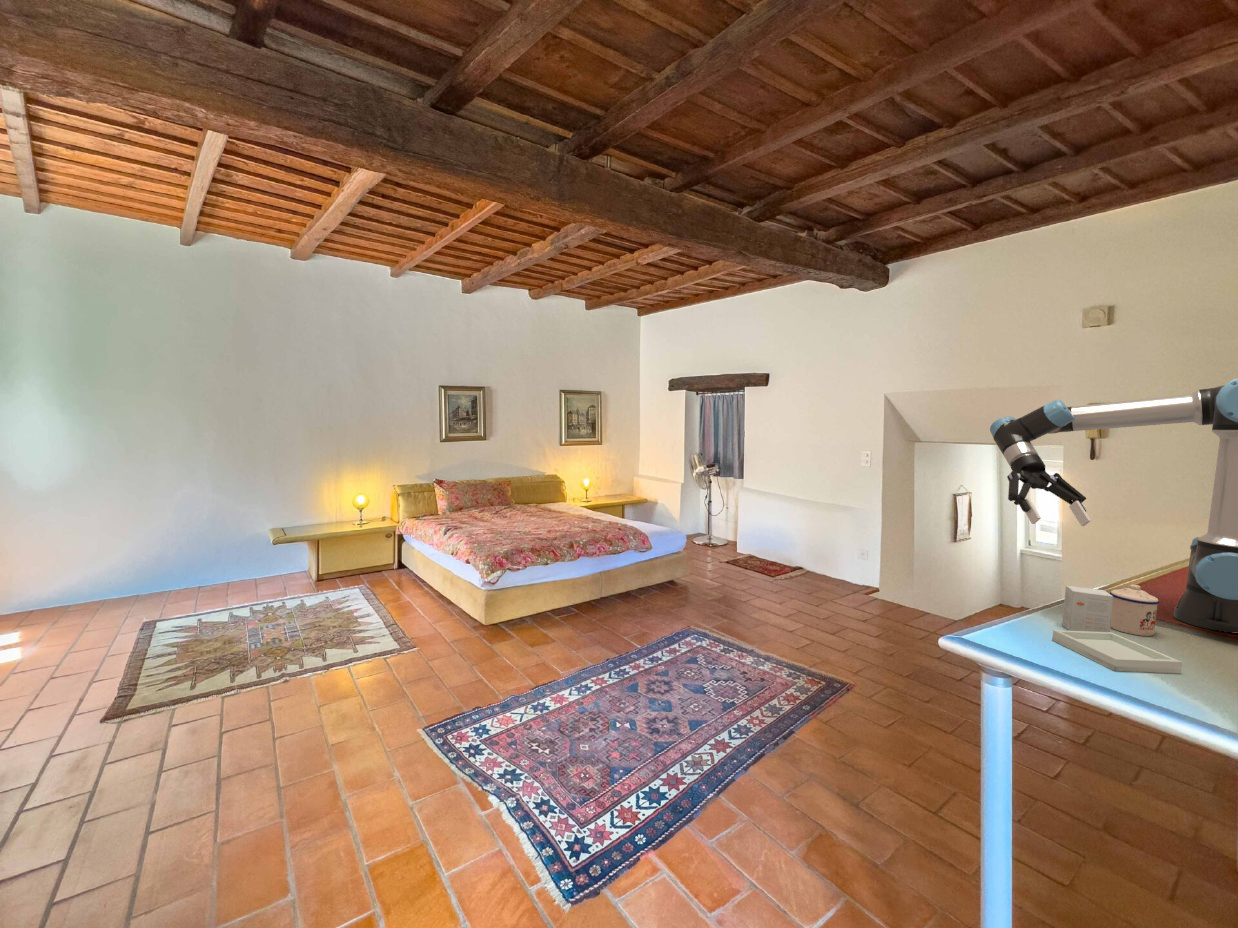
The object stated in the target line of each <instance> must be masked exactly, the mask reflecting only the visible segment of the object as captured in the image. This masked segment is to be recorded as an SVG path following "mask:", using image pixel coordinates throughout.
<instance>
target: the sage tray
mask: <svg viewBox="0 0 1238 928" xmlns="http://www.w3.org/2000/svg"><path fill="white" fill-rule="evenodd" d="M1051 641H1053V642H1055V643H1056V644H1059V645H1061V646H1062V647H1065V648H1067V649H1069V650H1071V651H1072V652H1075V653H1076V654H1079V655H1081V656H1083V657H1086V658H1088V659H1089V660H1091V661H1093V662H1095V663H1097V664H1100V665H1101V666H1104V667H1105V668H1107V669H1110V670H1112V671H1113V672H1129V673H1130V672H1131V673H1132V672H1134V673H1153V674H1154V673H1156V674H1182V667H1183V661H1181V660H1178V659H1176V658H1174V657H1171V656H1170V655H1167V654H1164V653H1162V652H1159V651H1158V650H1155V649H1152V648H1150V647H1148V646H1146V645H1143V644H1140V643H1139V642H1135V641H1133V640H1131V639H1129V638H1126V637H1124V636H1121V635H1119V634H1116V633H1114V632H1111V631H1110V632H1090V631H1068V630H1061V629H1059V630H1057V629H1056V630H1055V629H1052V638H1051Z"/></svg>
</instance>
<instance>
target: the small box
mask: <svg viewBox="0 0 1238 928" xmlns="http://www.w3.org/2000/svg"><path fill="white" fill-rule="evenodd" d="M1064 592H1065V593H1064V603H1063V613H1062V626H1063V627H1064V628H1065V629H1066V631H1090V632H1111V627H1110V624H1111V614H1112V605H1113V596H1112V595H1110V592H1107V591H1106V590H1104V589H1096V588H1089V587H1079V586H1071V585H1066V586H1065V591H1064Z"/></svg>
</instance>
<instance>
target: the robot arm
mask: <svg viewBox="0 0 1238 928" xmlns="http://www.w3.org/2000/svg"><path fill="white" fill-rule="evenodd" d="M1184 423H1185V424H1186V423H1195V424H1197V425H1198V426H1208V425H1212V426H1211V427H1212V428H1211V432H1212V433H1213V434H1215V436H1217V437H1218V439H1219V442H1218V451H1217V458H1216V464H1215V474H1214V481H1213V482H1214V483H1213V489H1212V496H1211V505H1210V511H1209V519H1208V526H1207V532H1206V533H1205V534H1203V535H1201V536H1199V537H1198V536H1197V537H1194V538H1193V539H1192V541H1191V544H1190V546H1189V549H1190V554H1189V560H1188V562H1189V563H1188V571H1187V578H1186V586H1185V591H1184V593H1183V595H1182V596H1181V598H1180V600H1179V601H1178V603H1177V605H1175V606H1174V610H1173V618H1175V619H1176V620H1178V621H1181V622H1183V623H1186V624H1189V625H1192V626H1195V627H1199V628H1202V629H1207V630H1212V631H1216V630H1219V631H1218V632H1221V631H1224V632H1223V633H1227V632H1238V377H1237V378H1234V379H1232V380H1230V381H1229V382H1227V383H1226V384H1223V385H1220V386H1219V385H1218V386H1215V387H1211V388H1203V389H1195V391H1194V392H1192V393H1190V394H1182V395H1181V394H1180V395H1172V396H1161V397H1152V398H1141V399H1132V400H1123V401H1114V402H1113V401H1112V402H1103V403H1093V404H1085V405H1075V406H1067V405H1066V404H1065V402H1063V401H1062V399H1055V400H1052V401H1051V402H1049V403H1045V404H1044V405H1043V406H1039V407H1038V408H1036V409H1035V410H1032V411H1031V412H1029V413H1027V414H1025V415H1023V416H1021V417H1018V418H1015V417H1013V416H1004V417H1000V418H998V419H996V420H994V421H993V422H992V423H991V425H990V427H989V431H990V433H991V435H992V438H993V441H994V442H995V444H996V445H997V447H998V448H999V450H1000V452H1001V454H1002V456H1004V458H1005V460H1006V463H1007V464H1008V465H1009V467H1010V469H1011V471H1010V473H1008V475H1007V476H1006V478H1007V480H1008V497H1007V500H1008V501H1010V502H1013V503H1014V505H1015V506H1019V507H1020V509H1021V511H1022V512H1024V513H1025V514H1026V517H1027V518H1028V519H1029V521H1030V523H1031V524H1032V525H1035V524H1037V522H1038V521H1040V520H1041V519H1042V517H1041V515H1040V514H1039V512H1038V511H1037V509H1036V507H1035V505H1034V504H1033V502H1032V500H1031V499H1030V498H1028V497H1027V496H1028V493H1029V492H1030V489H1033V490H1036V489H1038V490H1044V491H1045V492H1049V493H1052V494H1053V495H1054V496H1056V497H1058V498H1059V499H1061V500H1062V501H1064V502H1066V503H1067V504H1069V506H1068V507H1069V508H1070V509H1069V510H1070V511H1071V512H1072V513H1073V515H1074V518H1076V520H1077V521H1078V523H1079V524H1080V526H1081V527H1085V526H1087V525H1088V524H1089V523H1090V522H1092V520H1091V518H1090V516H1089V515H1088V513H1087V510H1086V508H1085V507H1084V505H1083V502H1085V501H1086V500H1087V497H1086V496H1085V495H1083V494H1082V493H1081V492H1080V491H1079V490H1077V489H1076V488H1075V487H1073V486H1072V485H1071V484H1070V483H1069V482H1068V481H1066V480H1065V479H1064V478H1063V476H1061V474H1059V473H1058V472H1055V473H1054V474H1049V473H1048V472H1047V471H1046V464H1045V463H1044V461H1043V460H1042V458H1041V456H1040V455H1039V453H1038V452H1037V450H1036V449H1035V447H1034V445H1033V444H1032V443H1031V442H1032V441H1034V440H1037V439H1039V438H1041V437H1043V436H1045V435H1047V434H1051V435H1052V434H1058V433H1069V432H1079V431H1081V432H1082V431H1092V430H1093V431H1095V430H1106V429H1107V430H1108V429H1118V428H1131V427H1132V428H1133V427H1143V426H1156V425H1157V426H1159V425H1172V424H1184ZM1020 482H1021V483H1022V486H1021V489H1020V491H1019V483H1020ZM1049 484H1050V485H1049ZM1048 485H1049V486H1048ZM1225 631H1226V632H1225Z"/></svg>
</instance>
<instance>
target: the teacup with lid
mask: <svg viewBox="0 0 1238 928" xmlns="http://www.w3.org/2000/svg"><path fill="white" fill-rule="evenodd" d="M1109 594H1110V595H1112V596H1113V605H1112V614H1111V624H1110V629H1113V630H1115V631H1118V632H1120V633H1125V634H1127V635H1128V634H1129V635H1135V636H1141V637H1151V636H1153V635H1154V634H1155V628H1156V620H1157V611H1158V605H1159V604H1160V600H1159V599H1158V598H1157V597H1156V596H1154V595H1151V594H1150V593H1148V592H1147V591H1145V590H1142V589H1141V586H1140V585H1138V584H1130V585H1129V587H1123V588H1120V589H1113V590H1112V589H1111V591H1110V592H1109Z"/></svg>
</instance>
